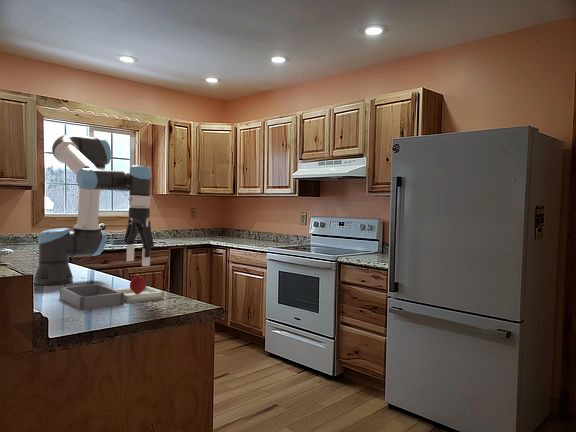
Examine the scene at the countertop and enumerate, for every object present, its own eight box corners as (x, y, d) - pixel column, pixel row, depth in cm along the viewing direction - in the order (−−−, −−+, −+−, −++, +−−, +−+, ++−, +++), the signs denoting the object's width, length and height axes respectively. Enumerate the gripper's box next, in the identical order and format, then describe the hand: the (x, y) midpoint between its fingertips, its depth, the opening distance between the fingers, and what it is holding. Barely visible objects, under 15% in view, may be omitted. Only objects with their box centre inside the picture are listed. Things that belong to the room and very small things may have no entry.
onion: (147, 293, 171) (148, 272, 171) (143, 296, 165) (143, 275, 165) (132, 292, 171) (132, 272, 171) (127, 296, 165) (127, 274, 165)
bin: (59, 298, 163) (59, 287, 163) (99, 294, 173) (100, 283, 172) (80, 310, 146) (80, 298, 146) (123, 304, 156) (123, 293, 156)
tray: (111, 296, 169) (111, 289, 168) (146, 292, 178) (147, 286, 178) (127, 303, 158) (127, 296, 158) (163, 298, 168) (163, 291, 168)
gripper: (116, 205, 174) (114, 259, 175) (144, 208, 156) (142, 268, 157) (134, 206, 179) (133, 258, 180) (164, 208, 161) (162, 267, 162)
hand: (137, 263), depth 168 cm, fingers open, 13 cm apart
